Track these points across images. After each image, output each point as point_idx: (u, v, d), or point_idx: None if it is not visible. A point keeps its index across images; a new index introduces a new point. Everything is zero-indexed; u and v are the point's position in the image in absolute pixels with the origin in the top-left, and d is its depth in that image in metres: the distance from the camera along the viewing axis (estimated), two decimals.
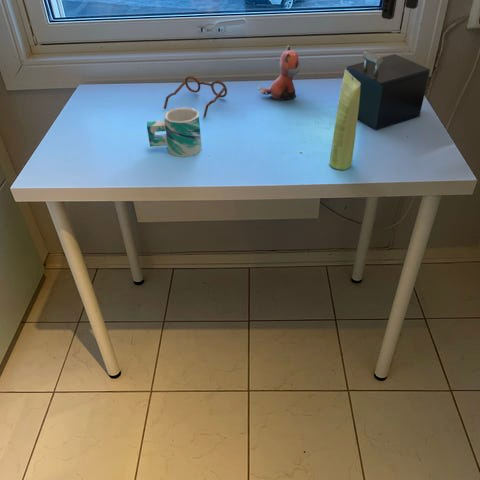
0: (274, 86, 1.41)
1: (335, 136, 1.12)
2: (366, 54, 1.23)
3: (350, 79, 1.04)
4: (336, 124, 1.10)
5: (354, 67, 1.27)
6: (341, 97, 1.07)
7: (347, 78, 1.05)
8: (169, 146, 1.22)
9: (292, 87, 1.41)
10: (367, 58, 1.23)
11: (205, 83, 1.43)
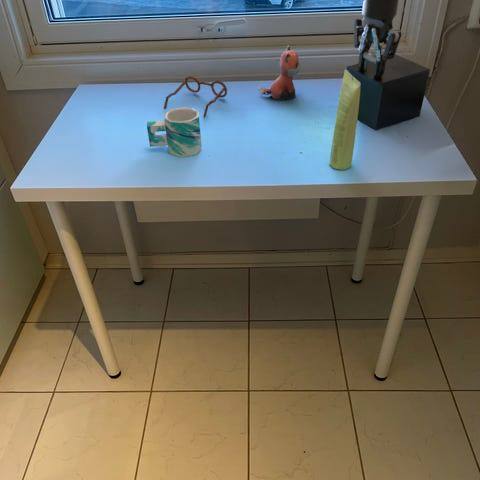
0: (274, 86, 1.41)
1: (335, 136, 1.12)
2: (366, 54, 1.23)
3: (350, 79, 1.04)
4: (336, 124, 1.10)
5: (354, 67, 1.27)
6: (341, 97, 1.07)
7: (347, 78, 1.05)
8: (169, 146, 1.22)
9: (292, 87, 1.41)
10: (367, 58, 1.23)
11: (205, 83, 1.43)
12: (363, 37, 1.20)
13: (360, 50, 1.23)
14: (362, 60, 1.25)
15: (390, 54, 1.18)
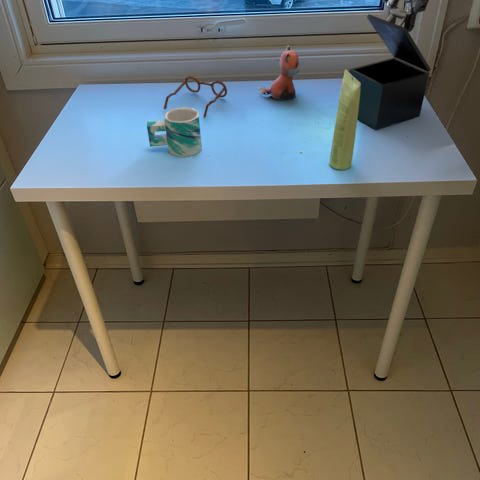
0: (274, 86, 1.41)
1: (335, 136, 1.12)
2: (396, 8, 1.19)
3: (350, 79, 1.04)
4: (336, 124, 1.10)
5: None
6: (341, 97, 1.07)
7: (347, 78, 1.05)
8: (169, 146, 1.22)
9: (292, 87, 1.41)
10: (395, 11, 1.19)
11: (205, 83, 1.43)
12: None
13: (389, 4, 1.20)
14: None
15: (422, 6, 1.14)
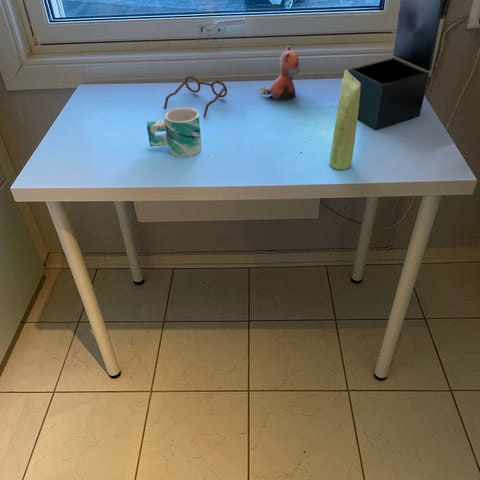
0: (274, 86, 1.41)
1: (335, 136, 1.12)
2: None
3: (350, 79, 1.04)
4: (336, 124, 1.10)
5: None
6: (341, 97, 1.07)
7: (347, 78, 1.05)
8: (169, 146, 1.22)
9: (292, 87, 1.41)
10: None
11: (205, 83, 1.43)
12: None
13: None
14: None
15: None
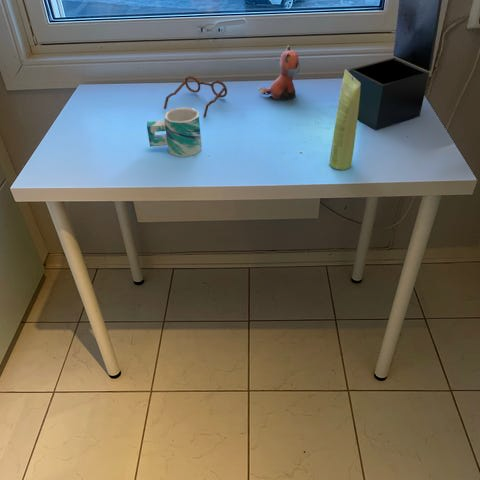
0: (274, 86, 1.41)
1: (335, 136, 1.12)
2: None
3: (350, 79, 1.04)
4: (336, 124, 1.10)
5: None
6: (341, 97, 1.07)
7: (347, 78, 1.05)
8: (169, 146, 1.22)
9: (292, 87, 1.41)
10: None
11: (205, 83, 1.43)
12: None
13: None
14: None
15: None
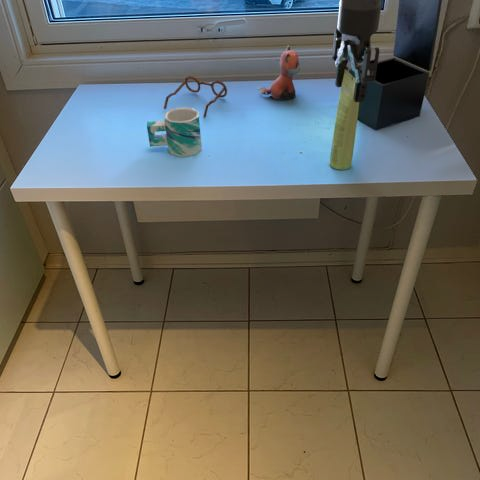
0: (274, 86, 1.41)
1: (335, 136, 1.12)
2: None
3: (350, 79, 1.05)
4: (336, 124, 1.10)
5: None
6: (341, 97, 1.07)
7: (347, 78, 1.05)
8: (169, 146, 1.22)
9: (292, 87, 1.41)
10: None
11: (205, 83, 1.43)
12: (340, 52, 1.02)
13: (336, 64, 1.05)
14: (339, 76, 1.07)
15: (370, 76, 0.98)
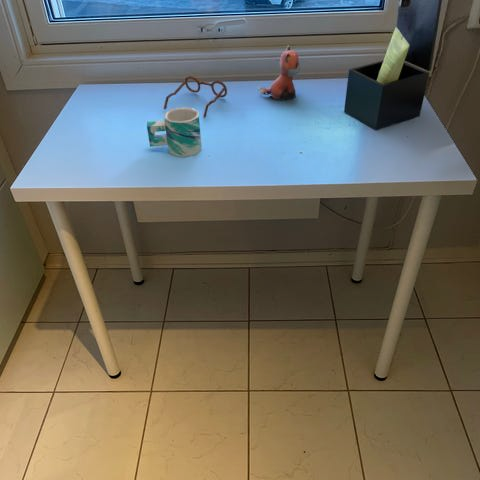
0: (274, 86, 1.41)
1: None
2: None
3: (400, 38, 1.18)
4: (380, 76, 1.25)
5: None
6: (389, 52, 1.21)
7: (397, 36, 1.19)
8: (169, 146, 1.22)
9: (292, 87, 1.41)
10: None
11: (205, 83, 1.43)
12: None
13: None
14: None
15: None
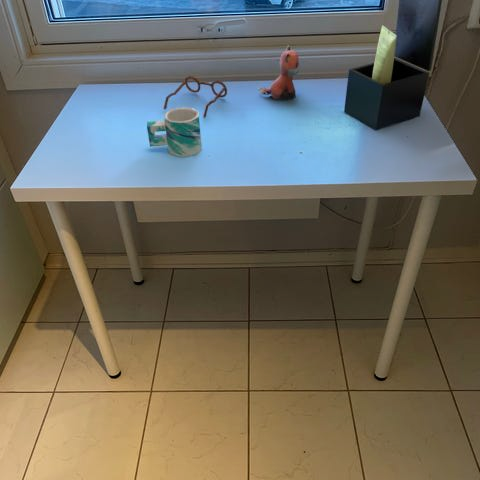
0: (274, 86, 1.41)
1: None
2: None
3: (387, 33, 1.21)
4: (373, 74, 1.27)
5: None
6: (378, 50, 1.24)
7: (384, 33, 1.22)
8: (169, 146, 1.22)
9: (292, 87, 1.41)
10: None
11: (205, 83, 1.43)
12: None
13: None
14: None
15: None
